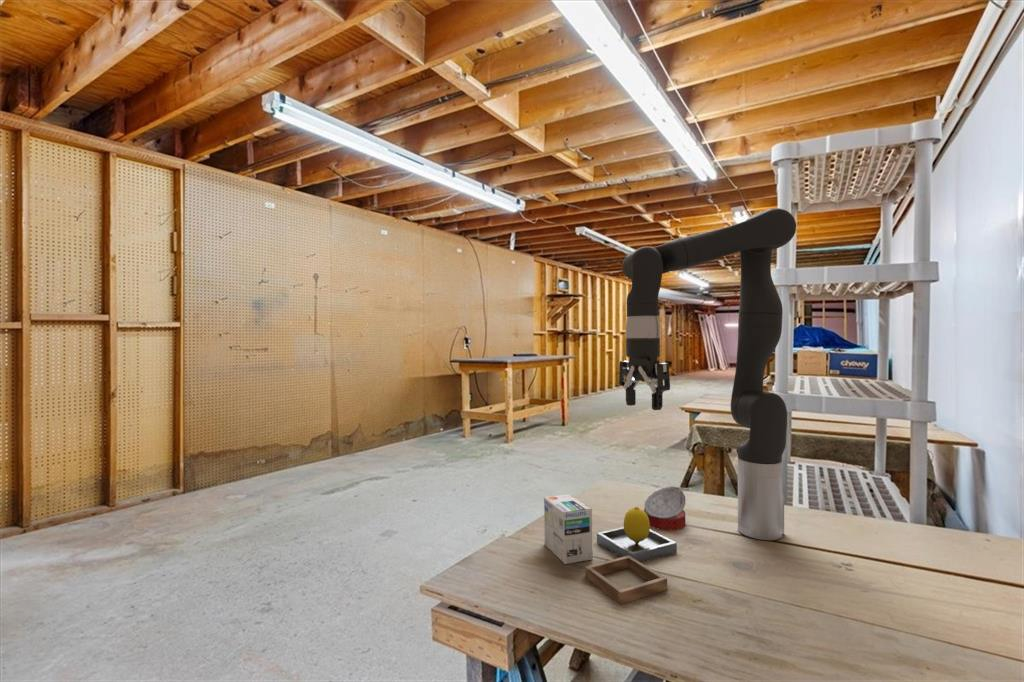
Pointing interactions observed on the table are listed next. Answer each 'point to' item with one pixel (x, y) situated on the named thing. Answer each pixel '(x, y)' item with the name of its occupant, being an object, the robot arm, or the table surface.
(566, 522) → the light bulb box
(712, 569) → the table surface
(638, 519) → the lemon
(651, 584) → the holder
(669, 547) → the tray
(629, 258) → the robot arm
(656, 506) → the canned food
